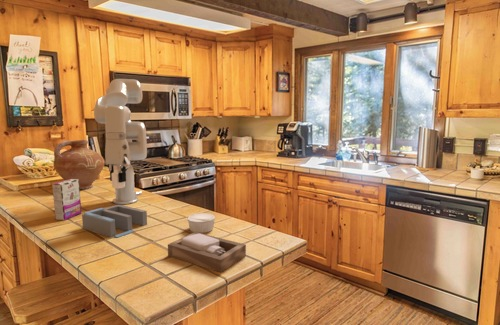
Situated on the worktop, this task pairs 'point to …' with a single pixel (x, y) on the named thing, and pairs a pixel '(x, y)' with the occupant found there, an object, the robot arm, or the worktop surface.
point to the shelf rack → (113, 220)
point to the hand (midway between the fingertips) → (118, 180)
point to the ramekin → (201, 222)
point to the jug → (78, 163)
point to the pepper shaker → (116, 178)
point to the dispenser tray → (209, 254)
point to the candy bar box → (66, 199)
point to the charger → (203, 244)
